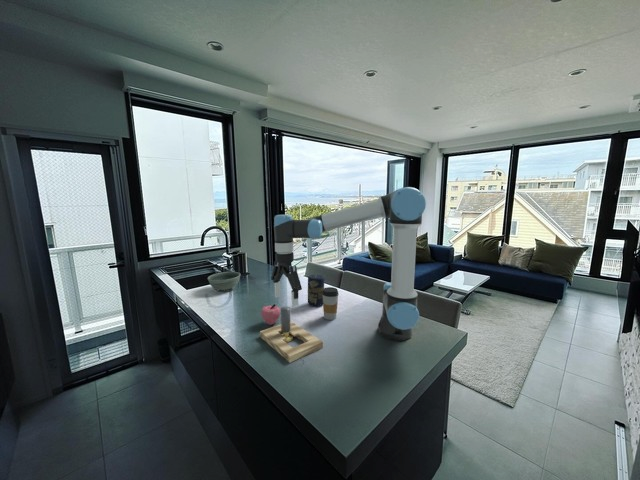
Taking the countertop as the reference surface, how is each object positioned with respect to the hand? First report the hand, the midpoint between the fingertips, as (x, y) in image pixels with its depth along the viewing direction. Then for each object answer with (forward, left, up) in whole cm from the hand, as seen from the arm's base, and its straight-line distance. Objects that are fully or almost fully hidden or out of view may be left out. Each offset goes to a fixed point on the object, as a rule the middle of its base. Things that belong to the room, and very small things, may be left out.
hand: (286, 301), depth 111 cm
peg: (0, 0, -17) cm, 17 cm away
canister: (+22, -34, -18) cm, 44 cm away
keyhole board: (-3, 0, -17) cm, 18 cm away
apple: (+17, -2, -18) cm, 24 cm away
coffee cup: (+4, -29, -18) cm, 34 cm away
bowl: (+80, -2, -18) cm, 82 cm away
